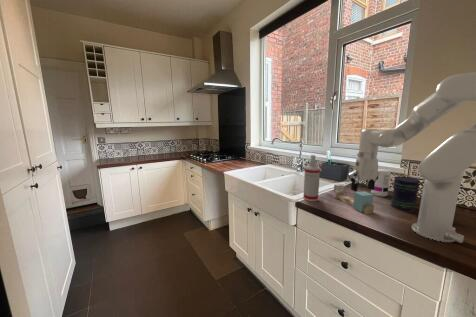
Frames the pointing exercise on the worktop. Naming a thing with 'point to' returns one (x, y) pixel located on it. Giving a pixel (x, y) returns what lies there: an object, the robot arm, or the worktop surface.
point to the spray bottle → (311, 180)
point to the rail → (349, 199)
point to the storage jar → (405, 193)
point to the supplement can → (382, 183)
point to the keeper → (362, 200)
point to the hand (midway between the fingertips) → (362, 189)
